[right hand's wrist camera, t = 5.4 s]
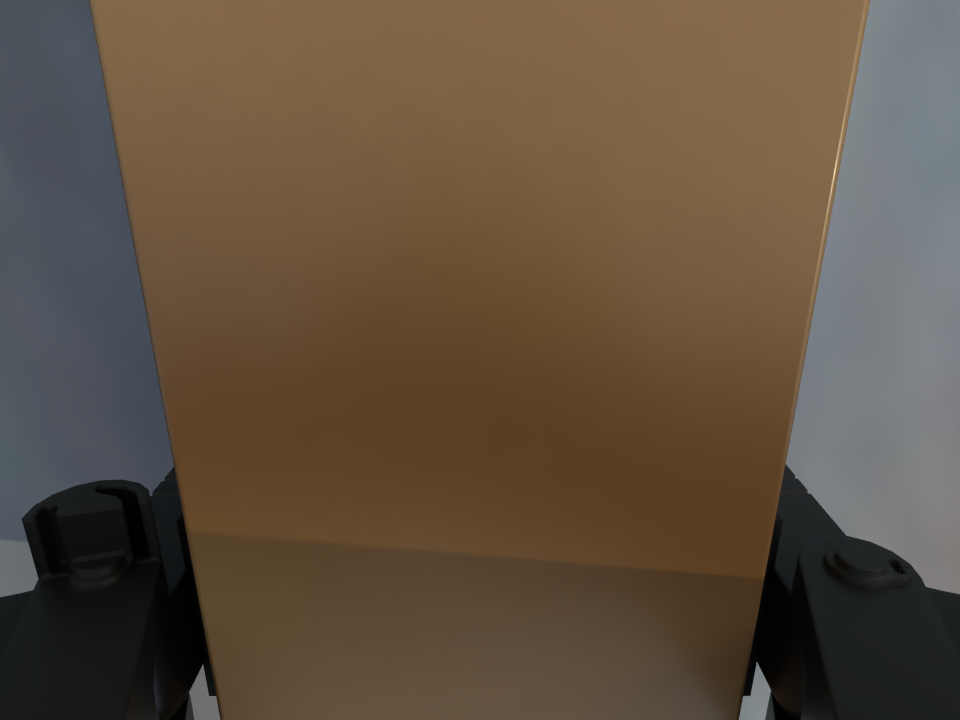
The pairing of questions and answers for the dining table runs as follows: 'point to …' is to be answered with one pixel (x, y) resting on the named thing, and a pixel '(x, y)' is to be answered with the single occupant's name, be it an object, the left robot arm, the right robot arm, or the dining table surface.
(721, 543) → the beam
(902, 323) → the dining table surface
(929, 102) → the dining table surface
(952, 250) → the dining table surface
